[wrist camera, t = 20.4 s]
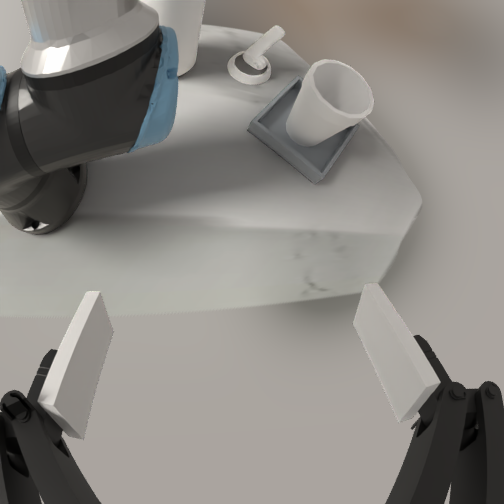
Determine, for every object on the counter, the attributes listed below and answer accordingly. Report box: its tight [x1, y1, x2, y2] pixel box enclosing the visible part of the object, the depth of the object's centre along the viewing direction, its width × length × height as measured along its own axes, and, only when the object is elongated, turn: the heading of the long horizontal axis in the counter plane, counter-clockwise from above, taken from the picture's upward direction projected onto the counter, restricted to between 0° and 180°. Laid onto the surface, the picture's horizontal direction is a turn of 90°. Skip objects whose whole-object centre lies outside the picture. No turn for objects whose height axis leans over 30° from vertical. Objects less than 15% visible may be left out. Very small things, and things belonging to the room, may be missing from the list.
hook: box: [227, 25, 285, 85], centre depth 41 cm, size 8×12×7 cm
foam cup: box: [286, 59, 374, 147], centre depth 38 cm, size 10×9×13 cm
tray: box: [247, 75, 359, 184], centre depth 43 cm, size 13×13×3 cm
